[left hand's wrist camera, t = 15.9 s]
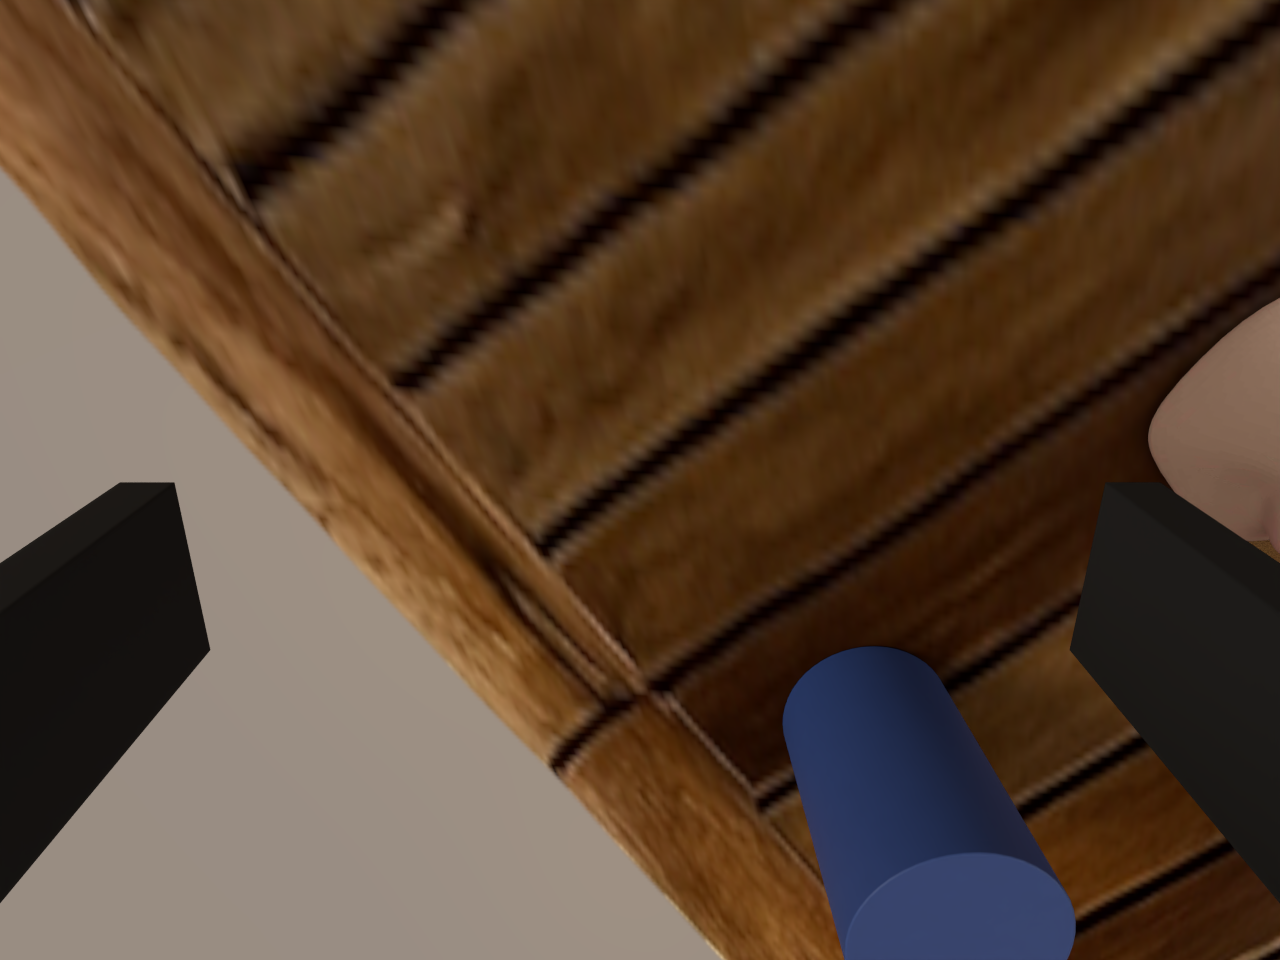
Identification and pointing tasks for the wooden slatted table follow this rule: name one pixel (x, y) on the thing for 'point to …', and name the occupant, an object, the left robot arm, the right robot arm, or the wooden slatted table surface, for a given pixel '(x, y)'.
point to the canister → (915, 820)
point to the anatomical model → (1228, 430)
